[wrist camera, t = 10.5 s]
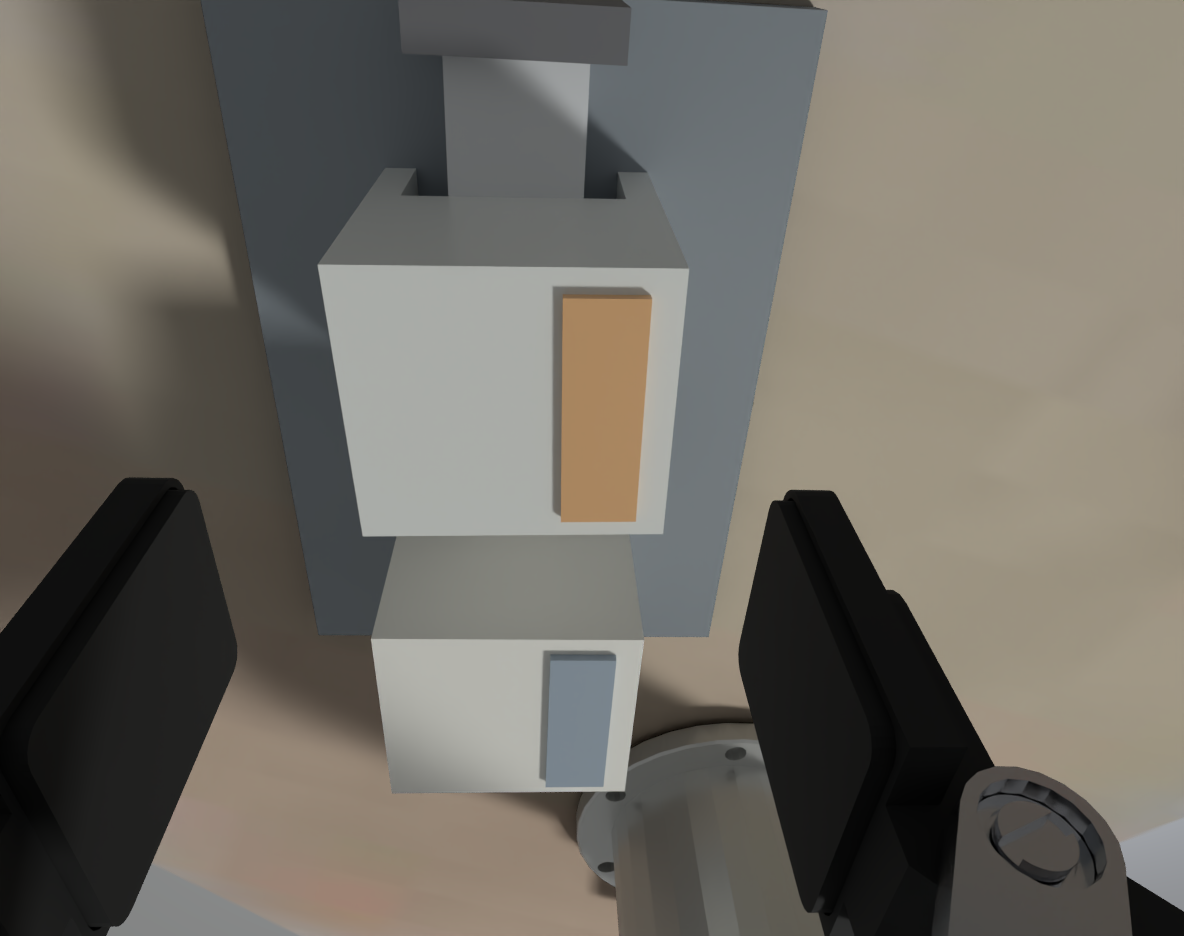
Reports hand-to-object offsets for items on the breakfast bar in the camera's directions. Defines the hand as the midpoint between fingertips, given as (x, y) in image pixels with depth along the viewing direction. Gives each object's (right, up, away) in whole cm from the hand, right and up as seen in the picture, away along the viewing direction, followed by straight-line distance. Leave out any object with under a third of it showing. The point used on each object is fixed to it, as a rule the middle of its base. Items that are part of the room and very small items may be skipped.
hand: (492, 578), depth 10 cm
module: (-1, +6, +11) cm, 13 cm away
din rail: (-1, +4, +14) cm, 14 cm away
